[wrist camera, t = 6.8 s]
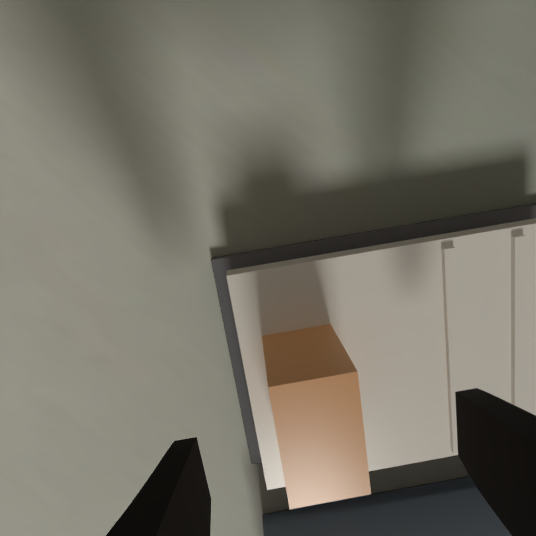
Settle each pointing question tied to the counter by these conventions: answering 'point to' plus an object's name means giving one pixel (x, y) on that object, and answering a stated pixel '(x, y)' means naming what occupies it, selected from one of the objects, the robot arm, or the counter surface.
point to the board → (325, 247)
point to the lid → (382, 352)
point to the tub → (395, 514)
